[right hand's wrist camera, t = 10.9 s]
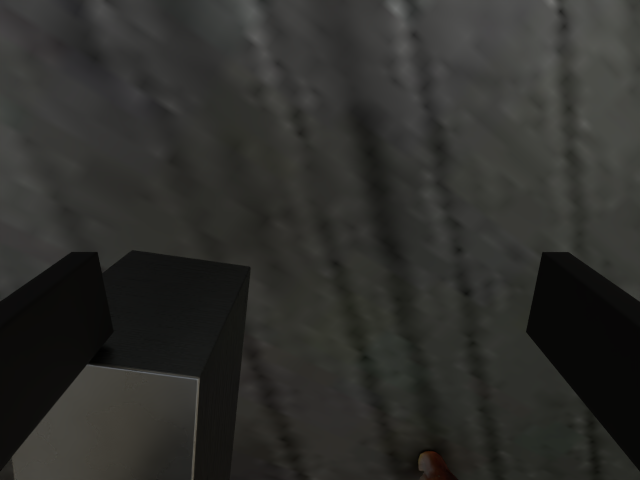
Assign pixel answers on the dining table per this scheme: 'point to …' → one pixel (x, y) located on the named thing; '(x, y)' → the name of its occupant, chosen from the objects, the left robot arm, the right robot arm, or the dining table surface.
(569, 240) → the dining table surface
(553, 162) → the dining table surface
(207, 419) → the box
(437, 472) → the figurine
